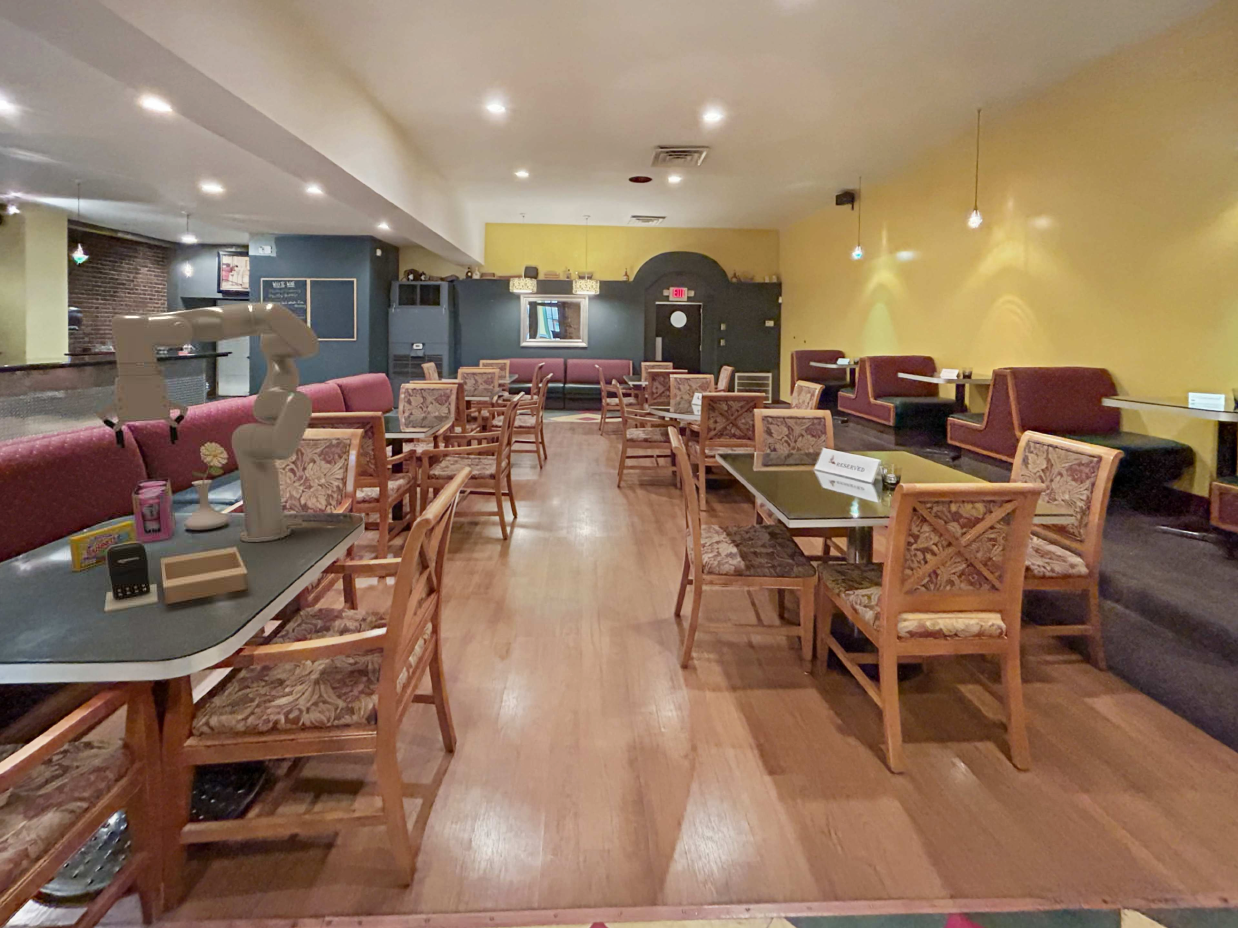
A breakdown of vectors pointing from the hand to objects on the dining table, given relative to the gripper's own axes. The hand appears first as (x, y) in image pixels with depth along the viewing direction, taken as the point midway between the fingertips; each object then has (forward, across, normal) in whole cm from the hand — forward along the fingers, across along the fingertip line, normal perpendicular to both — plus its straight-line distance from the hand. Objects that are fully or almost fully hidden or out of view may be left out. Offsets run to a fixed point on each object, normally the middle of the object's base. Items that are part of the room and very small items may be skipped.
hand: (148, 445), depth 159 cm
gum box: (+31, +1, -42) cm, 52 cm away
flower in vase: (+31, -12, -38) cm, 50 cm away
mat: (+30, +6, +17) cm, 35 cm away
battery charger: (+30, +6, +17) cm, 35 cm away
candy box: (+31, +12, -18) cm, 38 cm away
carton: (+30, -7, +18) cm, 36 cm away
